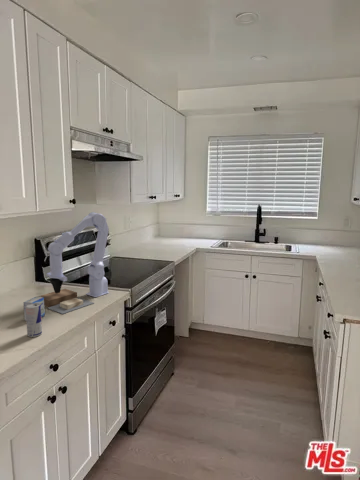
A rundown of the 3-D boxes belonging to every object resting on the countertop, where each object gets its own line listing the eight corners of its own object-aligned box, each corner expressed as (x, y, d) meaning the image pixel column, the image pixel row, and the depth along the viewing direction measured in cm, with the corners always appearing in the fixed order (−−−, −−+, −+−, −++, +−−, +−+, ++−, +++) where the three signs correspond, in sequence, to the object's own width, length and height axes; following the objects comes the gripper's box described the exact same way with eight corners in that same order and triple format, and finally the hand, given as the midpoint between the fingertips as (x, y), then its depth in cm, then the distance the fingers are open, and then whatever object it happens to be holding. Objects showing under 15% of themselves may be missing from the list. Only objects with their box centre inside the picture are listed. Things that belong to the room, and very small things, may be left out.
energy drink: (45, 332, 132) (43, 303, 130) (36, 338, 127) (34, 308, 125) (33, 330, 134) (31, 302, 132) (24, 336, 129) (22, 307, 127)
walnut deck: (65, 294, 177) (65, 288, 177) (77, 298, 171) (76, 292, 171) (37, 303, 164) (37, 296, 164) (49, 307, 158) (49, 300, 158)
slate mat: (78, 298, 172) (78, 297, 172) (94, 303, 165) (94, 302, 165) (47, 308, 158) (47, 307, 158) (62, 314, 151) (62, 313, 151)
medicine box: (33, 322, 142) (31, 302, 140) (24, 320, 143) (23, 301, 142) (45, 315, 149) (44, 297, 148) (36, 314, 151) (35, 296, 149)
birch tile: (83, 300, 162) (83, 304, 163) (75, 297, 166) (75, 301, 166) (67, 305, 155) (67, 309, 156) (59, 302, 159) (60, 306, 159)
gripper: (40, 265, 166) (41, 291, 168) (57, 270, 157) (59, 297, 160) (53, 263, 171) (54, 288, 174) (70, 267, 163) (71, 294, 165)
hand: (57, 292), depth 167 cm, fingers closed
